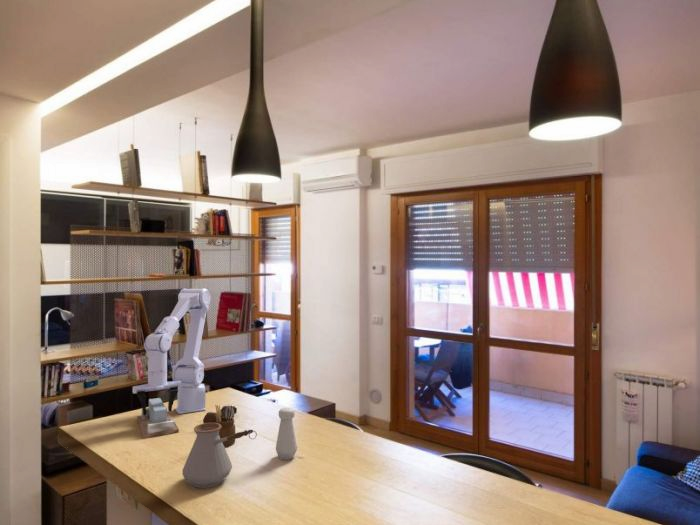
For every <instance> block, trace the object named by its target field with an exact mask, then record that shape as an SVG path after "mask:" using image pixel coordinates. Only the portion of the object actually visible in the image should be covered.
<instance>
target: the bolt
mask: <svg viewBox="0 0 700 525" xmlns="http://www.w3.org/2000/svg"><path fill="white" fill-rule="evenodd" d="M232 405H233V404H232ZM232 405H231V404H230V405H229V406H228V405H223V406H222V407H221V408H220V410H221V416H220V418H222V417H232V418H234V417H233V416H234V415H235V414H237V413H238V412H237V411H238V408H236V407H235V405H233V406H232ZM227 406H228V407H227ZM230 406H231V408H230ZM227 408H228V409H227ZM232 408H233V410H232ZM229 409H230V410H229ZM226 411H227V415H226V414H225V412H226ZM232 412H234V413H232ZM229 414H230V415H229ZM231 414H232V415H233V416H232V415H231ZM217 419H219V416H218V415H217V412H211V411H209V412H206V414H205V415H204V417H203V419H202V424H204V423H216V420H217Z"/></svg>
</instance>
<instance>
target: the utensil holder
mask: <svg viewBox="0 0 700 525" xmlns="http://www.w3.org/2000/svg"><path fill="white" fill-rule="evenodd" d="M231 405H232V406H234V405H233V404H231V403H229V404H228V405H226V406H227V407H228V406H230V408H231ZM220 406H221V405H217V404H215V406H214V407H215V413H217V415H218V416H219V419H217V420H216V423H218V424H220V425H221V426H222V427H221V429H220V430H219V436H220V438H221V439H222V438H225V437H228V436H230V435H233V434H235V433H236V425H235V419H234V417H222V418H220V416H221V407H220ZM227 409H228V408H227ZM229 410H230V409H229ZM232 410H233V408H232ZM232 413H234V412H232ZM225 414H226V415H227V411H226V412H225ZM229 415H230V414H229ZM231 415H232V414H231ZM232 416H234V415H232ZM222 443H223V445H224V447H225V446H227V447H230V445H231V446H233V445H234V444H235V443H236V439H232V440H227V441H224V442H222Z"/></svg>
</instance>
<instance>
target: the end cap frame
mask: <svg viewBox="0 0 700 525" xmlns="http://www.w3.org/2000/svg"><path fill="white" fill-rule="evenodd" d="M164 406H165V407H166V405H164ZM166 409H167V410H168V407H166ZM136 418H137V419H136V420H137V422H138V425H139V428H140V431H141V434H142V437H143V439H146V438H153V437H159V436H165V435H171V434H175V433H176V434H177V433H180V432H179V431H180V430H179V427H178V425H177V424H176V422H175V420H174V418H173V417H172V415H171V414H170V412H169V411H167V421H166V422H160V423H153V424H152V423H151V421H150V419H149V407H146V415H143V409H142V408H141V415H138V416H136Z"/></svg>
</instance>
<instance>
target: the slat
mask: <svg viewBox="0 0 700 525" xmlns="http://www.w3.org/2000/svg"><path fill="white" fill-rule="evenodd" d="M165 406H166V405H165V404H164V402H163V400H162V399H161V397H157V398H149V399H148V408H149V419H150V421H151V423H152V424H153V423H160V422H166V421H167V412H168V408H167V407H165ZM166 408H167V409H166Z"/></svg>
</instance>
